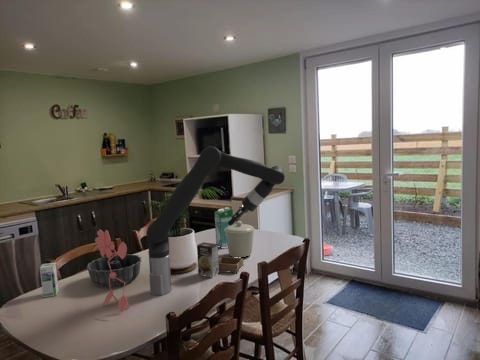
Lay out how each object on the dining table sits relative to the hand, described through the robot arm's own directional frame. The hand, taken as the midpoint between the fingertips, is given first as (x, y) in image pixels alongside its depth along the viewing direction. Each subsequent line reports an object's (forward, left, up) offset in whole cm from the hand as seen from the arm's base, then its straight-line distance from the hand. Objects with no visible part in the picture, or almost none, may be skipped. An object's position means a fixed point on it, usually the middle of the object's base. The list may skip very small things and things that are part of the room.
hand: (232, 222), depth 177 cm
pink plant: (-45, +39, -29) cm, 67 cm away
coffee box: (+2, +15, -29) cm, 33 cm away
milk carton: (+50, +24, -29) cm, 63 cm away
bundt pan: (-16, +58, -29) cm, 67 cm away
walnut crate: (+12, +7, -29) cm, 32 cm away
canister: (+34, +8, -29) cm, 45 cm away
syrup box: (-38, +78, -29) cm, 92 cm away
